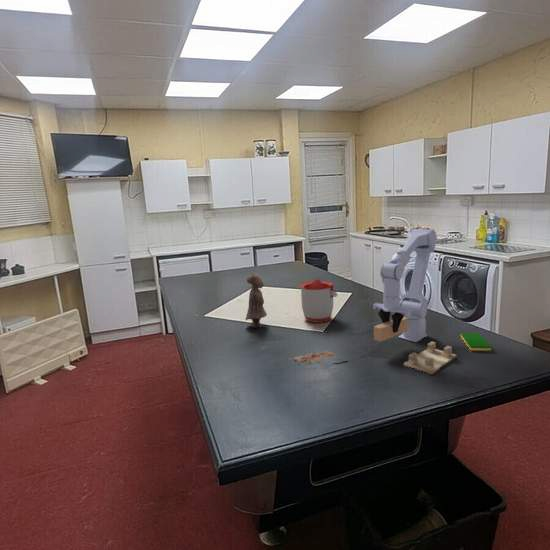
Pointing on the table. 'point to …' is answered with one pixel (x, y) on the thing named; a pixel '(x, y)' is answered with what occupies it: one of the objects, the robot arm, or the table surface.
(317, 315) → the citrus juicer
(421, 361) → the birch rack
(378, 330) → the clay strip
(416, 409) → the table surface
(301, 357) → the bark
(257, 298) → the clay figurine
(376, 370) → the table surface
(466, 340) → the dish sponge
